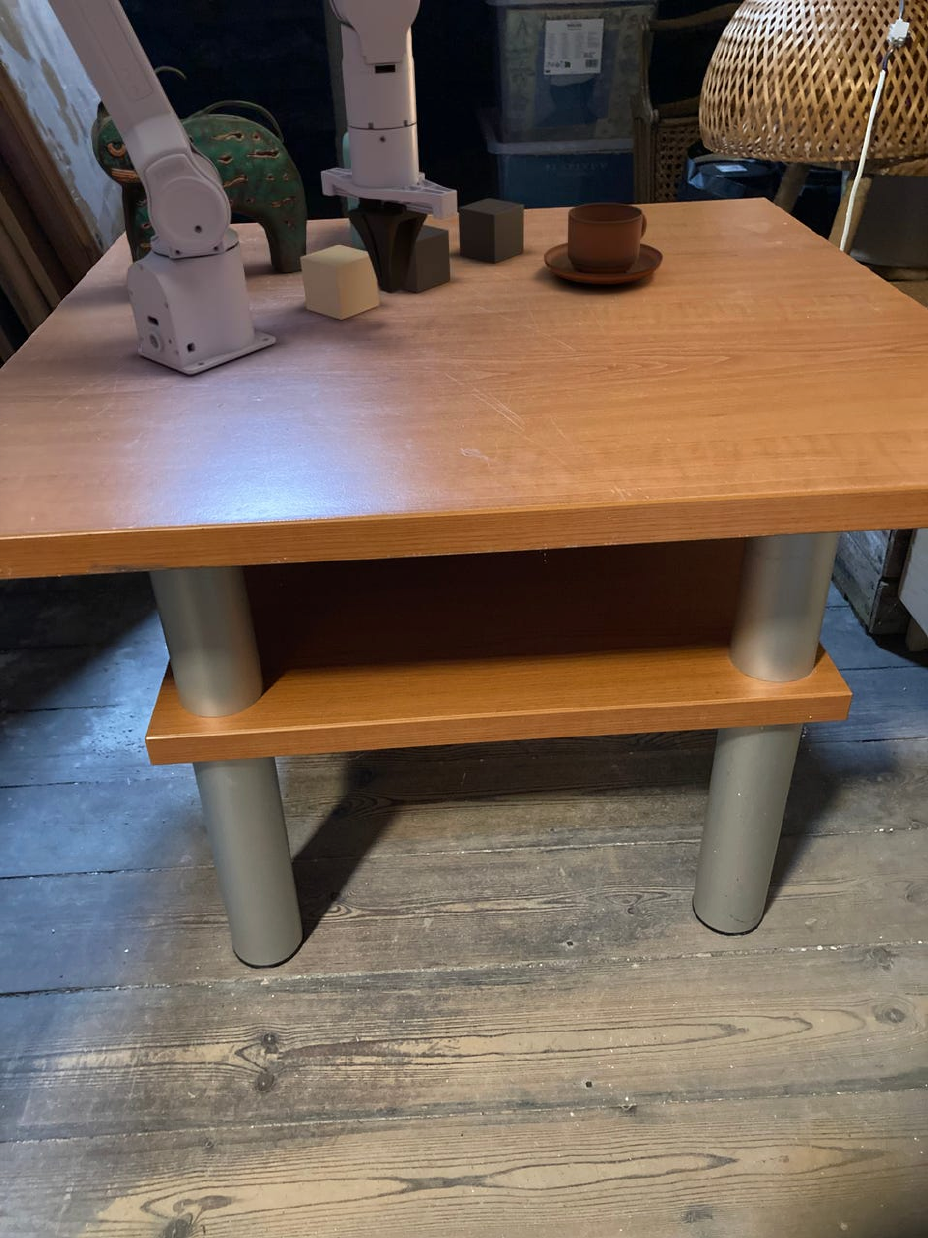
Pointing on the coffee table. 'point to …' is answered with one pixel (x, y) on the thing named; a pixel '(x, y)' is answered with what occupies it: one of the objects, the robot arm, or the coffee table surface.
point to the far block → (491, 230)
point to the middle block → (429, 260)
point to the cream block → (339, 282)
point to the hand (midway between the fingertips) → (393, 289)
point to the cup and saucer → (604, 246)
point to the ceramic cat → (246, 168)
